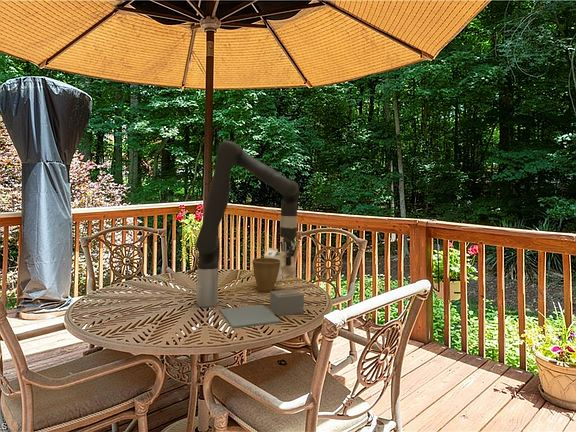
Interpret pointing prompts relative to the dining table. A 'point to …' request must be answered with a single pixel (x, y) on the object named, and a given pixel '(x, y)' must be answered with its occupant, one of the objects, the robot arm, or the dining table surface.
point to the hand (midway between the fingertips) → (287, 265)
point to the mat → (249, 316)
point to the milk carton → (274, 254)
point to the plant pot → (266, 273)
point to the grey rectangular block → (286, 302)
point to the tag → (286, 270)
